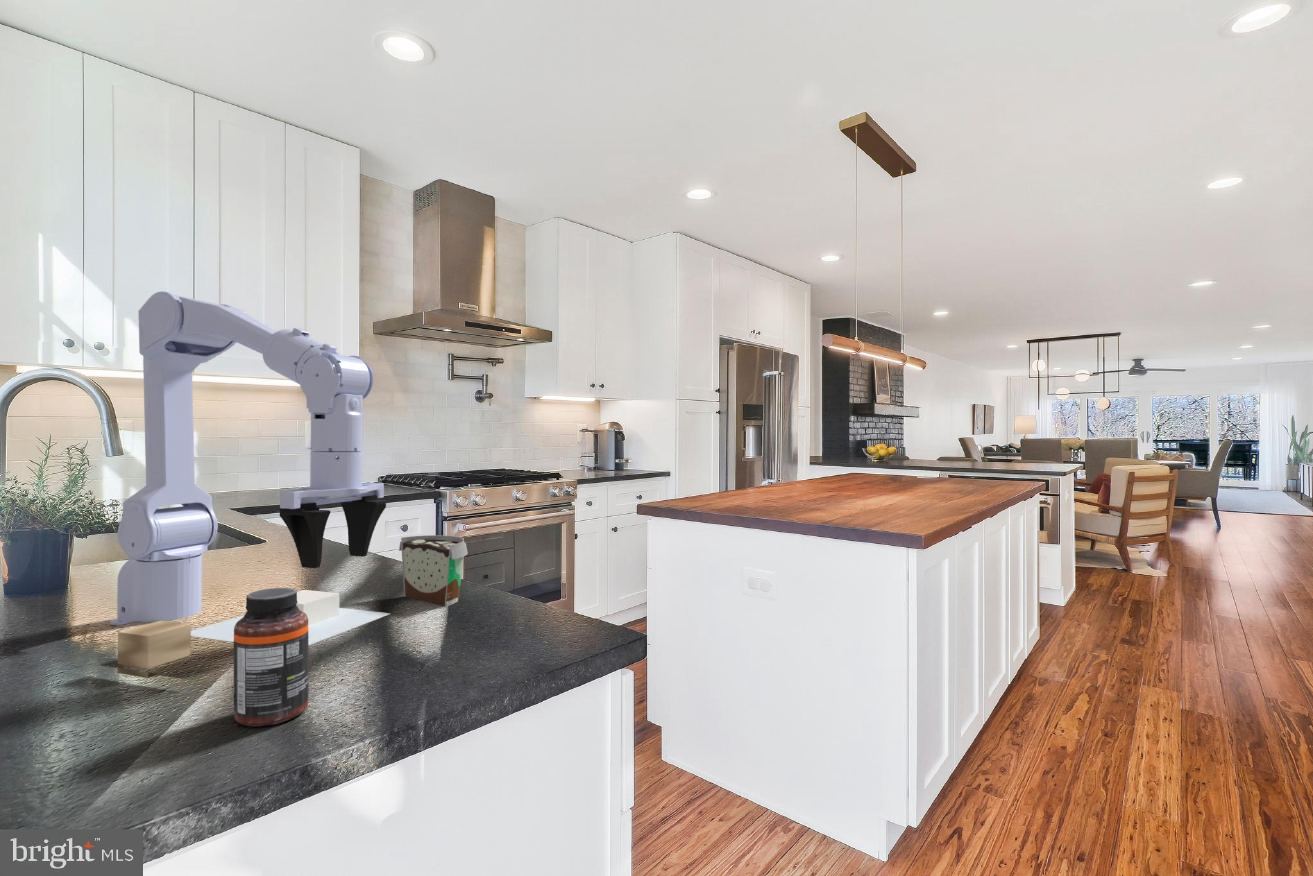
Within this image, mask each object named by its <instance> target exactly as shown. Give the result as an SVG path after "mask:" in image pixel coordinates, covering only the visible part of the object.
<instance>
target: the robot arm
mask: <svg viewBox="0 0 1313 876" xmlns="http://www.w3.org/2000/svg"><path fill="white" fill-rule="evenodd" d="M137 313H138V341H139V343H138V348H139V349H138V350H139V354H140V355H141V356H142V357H143V358H142V359H143V360H142V361H143V363H142V367H143V402H144V403H143V408H144V410H143V411H144V412H143V413H144V414H143V415H144V450H145V451H144V452H145V454H144V455H145V459H144V460H145V486H144V487H142V488H140V490H138V491H136V492H135V493H134V494H133V495H131V496H130V497H128V498H126V499H125V501H124V502H122V506H123V507H122V514H121V519H120V522H119V525H118V529H117V540H118V541H117V542H118V544H119V546H120V548H121V549H122V551H123V552H124V554H125V555H127V556H128V558H129V559H128V560H127V561H126V562H124V564H123V565H122V566H121V568H120V570H119V571H118V572H119V573H118V575H117V583H116V585H117V586H116V587H117V596H116V597H117V598H116V600H117V602H116V603H117V605H116V606H117V607H116V609H117V610H116V611H117V612H116V616H117V617H116V618H114V619H111V620H109V624H110V625H113V626H120V625H125V624H129V623H133V622H141V623H154V622H158V621H169V622H171V621H175V620H181V619H184V618H188V617H193V616H195V615H196V616H197V615H198V614H200V613H201V612H202V607H203V606H202V605H203V604H202V602H203V600H202V598H203V597H202V596H203V595H202V592H203V589H202V586H203V584H202V583H203V582H202V581H203V554H205V553H208V547H209V546H210V545H211V544H213V542H214V541H215V539H216V536H217V534H218V528H219V525H218V524H219V522H218V519H217V516H216V513H215V511H214V508H213V498H212V497H213V496H212V495H211V494H210V493H208V492H207V491H205V489H203V488H201V487H200V486H198V485H197V484H196V478H195V477H196V476H195V441H194V440H195V437H194V435H195V434H194V433H195V432H194V400H193V398H194V396H193V395H194V394H193V372H194V370H195V369H196V368H197V367H199V366H200V365H201V364H205V363H208V362H209V361H211V360H212V359H215V358H216V357H218V356H219V355H221V354H223V353H224V352H226V351H228V350H229V349H231V348H232V347H234V345H236V343H237V344H239V345H241V346H243V347H246V348H249V350H250V349H251V350H252V351H254V352H257V353H259V354H261V355H262V359H263V362H264V364H265V365H266V367H267V368H268V369H270V370H272V371H274V372H276V373H277V374H279V375H281V376H283V377H285V378H286V379H289V380H291V381H293V382H294V383H296V384H298V385H299V386H300V389H301V390H302V393H303V394H304V395H305V399H306V409H307V410H308V413H310V454H309V455H310V461H309V462H310V466H309V467H310V468H309V469H310V470H309V473H310V474H309V475H310V477H309V479H310V480H309V481H310V482H309V486H308V487H302V488H297V489H292V490H291V489H290V490H281V491H280V492H279V517H280V518H281V520H282V521H283V522H284V524H285V526H286V528H287V529H288V530H289V532H290V535H291V537H292V539H293V542H294V544H295V547H296V551H297V555H298V558H299V561H300V565H301V568H304V569H307V568H308V569H317V568H320V566H321V563H322V556H323V543H324V534H325V530H326V525H327V523H328V520H329V517H330V514H331V510H328V509H320V507H319V505H320V506H321V505H327V504H336V503H340V504H341V508H342V510H343V514H344V517H345V521H346V526H347V539H348V540H347V541H348V545H347V546H348V552H349V555H350V556H351V557H360V558H361V557H367V556H368V551H369V548H370V545H371V541H372V537H373V534H374V531H375V528H376V525H377V523H378V522H379V519H380V517H381V516H382V514H383V512H384V511H385V509H386V508H387V499H382V498H385V497H384V495H385V493H384V492H385V491H384V490H385V488H384V487H385V486H384V484H385V483H383V482H381V483H380V482H366V483H362V481H363V479H362V478H363V475H362V474H363V472H362V471H363V405H364V404H363V400H364V399H366V398H367V397H368V396H369V395H370V393H371V391H372V389H373V386H374V372H373V369H372V367H370V365H369V363H368V362H367V361H365V360H364V359H363V358H362V357H361V356H359V355H343V354H341V353H339V352H338V351H337V349H338V348H337V347H336V346H335V345H333V344H329V343H323V344H322V343H321V342H318V341H316V340H315V339H313V338H310V334H311V332H309V331H307V330H305V329H302V328H297V327H293V328H292V329H291V328H289V329H288V328H284V329H280V330H277V331H276V330H275V329H273V328H272V327H269V326H268V325H266V324H264V323H263V322H261V321H259V320H257V318H255V317H253V316H251V315H250V314H247V313H246V312H244V310H243V309H239V308H237V307H236V308H235V307H233V306H231V305H229V304H225V303H224V304H219V303H213V302H210V301H205V300H200V299H196V298H195V299H194V298H191V297H186V296H181V295H177V294H173V293H171V292H168V291H157V292H155V293H153V294H152V295H151V296H150V297H149V298H148V299H147V300H146V301H145V303H144V304H143V305H142V306H141V307H140V308H139V309H138V312H137ZM339 496H340V497H339ZM341 496H342V497H341ZM331 497H334V498H331ZM174 505H181V506H175V507H165V508H164V506H174ZM317 506H318V507H317ZM161 507H163V508H161Z"/></svg>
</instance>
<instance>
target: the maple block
mask: <svg viewBox="0 0 1313 876" xmlns="http://www.w3.org/2000/svg"><path fill="white" fill-rule="evenodd" d="M191 631H192V625H191V624H190V623H184V622H175V621H158V622H149V623H146V624H142V625H139V626H135V627H132V628H129V629H124V630H121V631H118V632H117V665H124V666H129V667H135V668H142V669H147V670H148V669H151V668H155V667H157V666H160V665H164V664H166V663H169V662H173V661H176V660H178V659H182V658H186V657H188V656H190V655H191V654H192V653H191V651H192V650H191V647H192V646H191V644H192V643H191V641H192V640H191V639H192V638H191ZM117 674H122V675H126V676H133V677H137V678H138V677H139V678H145V679H149V678H152V677H155V676H158V675H159V676H160V674H159V673H154V672H148V671H143V670H142V671H141V670H137V669H136V670H134V669H129V668H122V667H117Z"/></svg>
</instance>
